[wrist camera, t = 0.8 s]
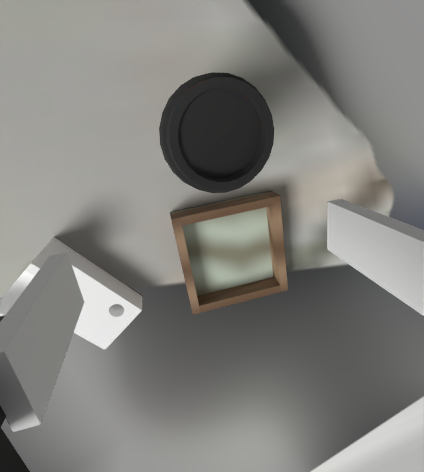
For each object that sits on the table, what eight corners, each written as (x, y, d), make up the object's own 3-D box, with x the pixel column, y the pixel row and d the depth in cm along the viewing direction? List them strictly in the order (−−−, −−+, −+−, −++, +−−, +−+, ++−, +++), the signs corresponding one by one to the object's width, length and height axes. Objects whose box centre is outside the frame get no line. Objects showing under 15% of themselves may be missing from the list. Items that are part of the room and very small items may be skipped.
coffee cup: (242, 139, 35) (302, 147, 22) (187, 185, 36) (212, 220, 22) (198, 75, 32) (236, 36, 18) (139, 125, 33) (132, 124, 19)
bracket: (18, 278, 36) (-14, 315, 29) (54, 236, 35) (31, 263, 28) (108, 331, 41) (99, 374, 34) (142, 295, 40) (141, 331, 33)
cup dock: (169, 212, 37) (171, 219, 34) (270, 190, 38) (280, 195, 35) (190, 301, 41) (192, 314, 39) (278, 279, 43) (287, 289, 40)
